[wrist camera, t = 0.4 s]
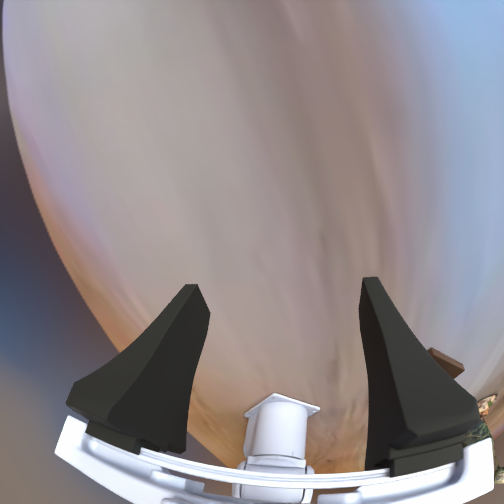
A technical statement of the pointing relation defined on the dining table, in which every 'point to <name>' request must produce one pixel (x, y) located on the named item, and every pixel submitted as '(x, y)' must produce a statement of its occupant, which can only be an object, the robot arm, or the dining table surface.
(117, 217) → the dining table surface
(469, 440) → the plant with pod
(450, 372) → the brown peg stand
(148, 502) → the robot arm
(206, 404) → the dining table surface
